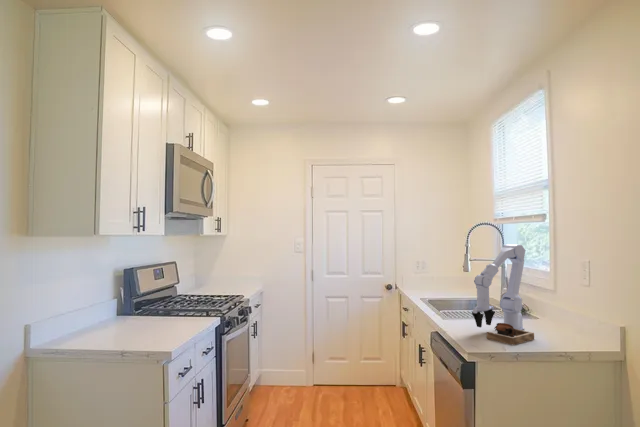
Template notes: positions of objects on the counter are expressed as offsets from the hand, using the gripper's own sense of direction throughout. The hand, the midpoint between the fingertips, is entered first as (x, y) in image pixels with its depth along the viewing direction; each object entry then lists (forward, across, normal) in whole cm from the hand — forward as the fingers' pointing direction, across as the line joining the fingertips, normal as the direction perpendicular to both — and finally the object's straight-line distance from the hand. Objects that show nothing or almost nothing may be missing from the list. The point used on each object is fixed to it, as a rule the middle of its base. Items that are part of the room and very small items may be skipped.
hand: (483, 325), depth 207 cm
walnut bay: (+3, 0, +14) cm, 15 cm away
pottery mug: (+4, +2, +13) cm, 13 cm away
